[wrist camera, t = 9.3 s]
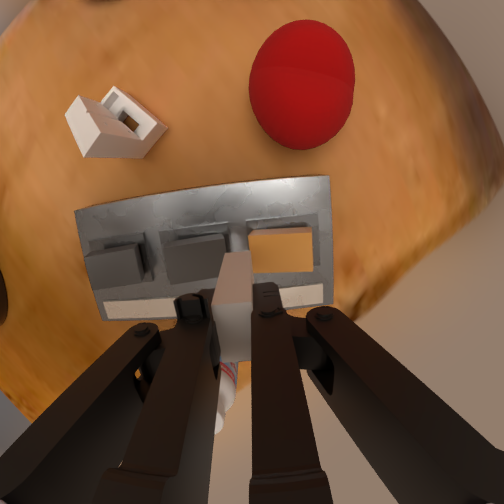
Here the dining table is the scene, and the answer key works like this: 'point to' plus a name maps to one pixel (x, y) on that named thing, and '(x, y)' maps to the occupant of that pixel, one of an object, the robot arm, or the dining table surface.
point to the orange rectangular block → (281, 250)
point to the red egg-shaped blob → (302, 84)
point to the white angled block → (113, 126)
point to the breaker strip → (209, 223)
